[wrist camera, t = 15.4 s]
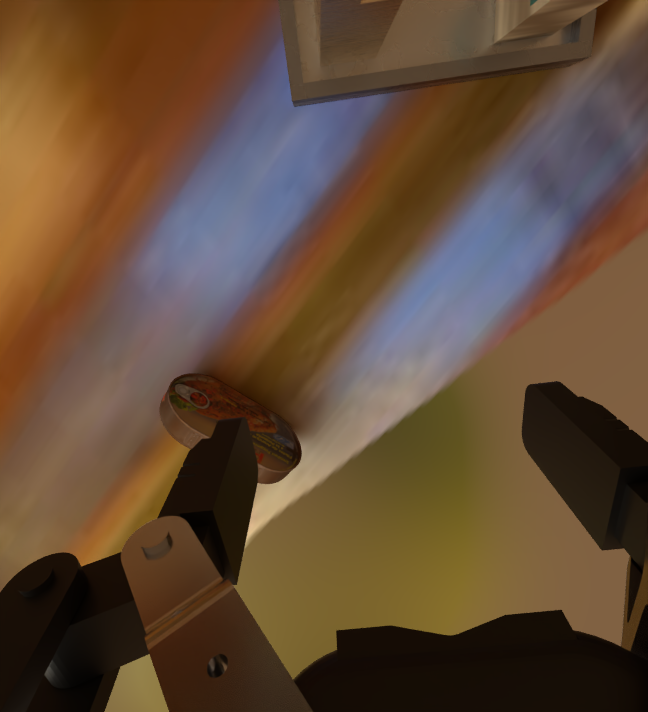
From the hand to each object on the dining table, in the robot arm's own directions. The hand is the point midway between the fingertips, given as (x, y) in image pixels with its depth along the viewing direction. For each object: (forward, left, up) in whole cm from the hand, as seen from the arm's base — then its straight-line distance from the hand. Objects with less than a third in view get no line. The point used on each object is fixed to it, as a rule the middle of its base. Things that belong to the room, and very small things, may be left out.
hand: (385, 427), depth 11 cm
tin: (+8, -18, -28) cm, 35 cm away
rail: (-11, +15, -28) cm, 34 cm away
